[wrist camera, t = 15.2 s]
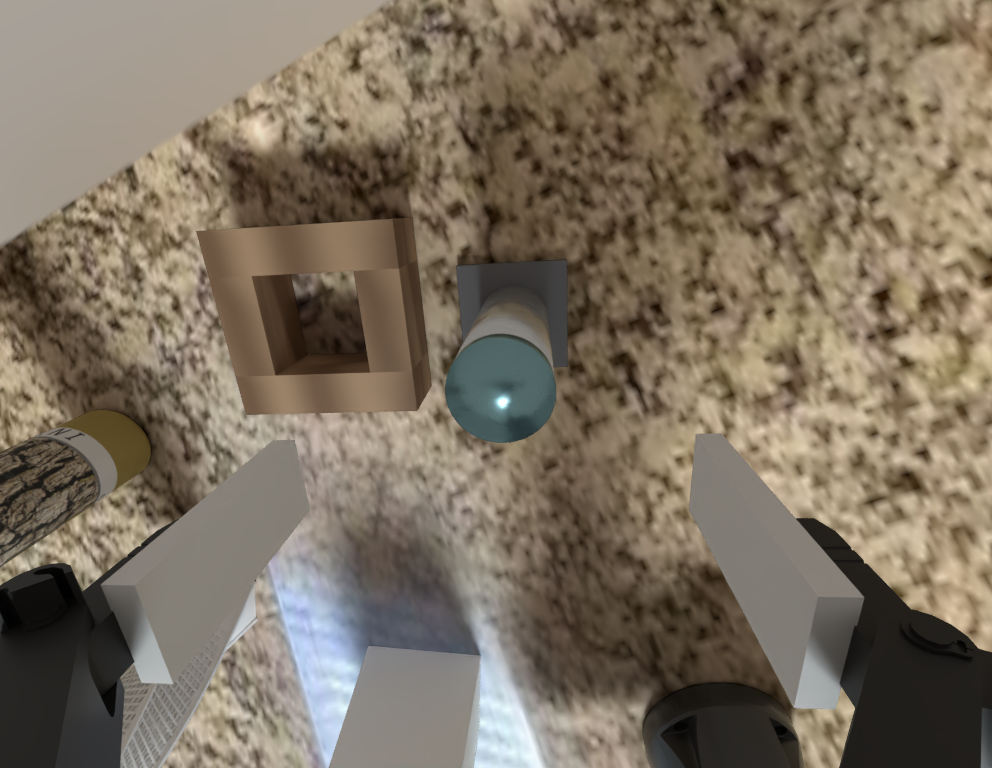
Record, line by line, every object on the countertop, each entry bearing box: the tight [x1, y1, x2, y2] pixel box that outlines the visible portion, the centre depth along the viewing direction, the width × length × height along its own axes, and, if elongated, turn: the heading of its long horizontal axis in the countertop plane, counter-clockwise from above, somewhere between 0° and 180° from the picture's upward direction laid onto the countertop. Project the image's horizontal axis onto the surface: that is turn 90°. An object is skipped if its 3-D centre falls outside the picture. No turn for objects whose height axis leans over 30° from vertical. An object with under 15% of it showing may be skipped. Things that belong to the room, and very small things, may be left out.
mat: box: [456, 260, 568, 367], centre depth 35 cm, size 8×8×1 cm
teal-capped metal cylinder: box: [445, 285, 556, 443], centre depth 28 cm, size 5×5×15 cm
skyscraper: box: [120, 581, 257, 768], centre depth 35 cm, size 8×8×28 cm
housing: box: [196, 218, 432, 415], centre depth 34 cm, size 13×13×5 cm
